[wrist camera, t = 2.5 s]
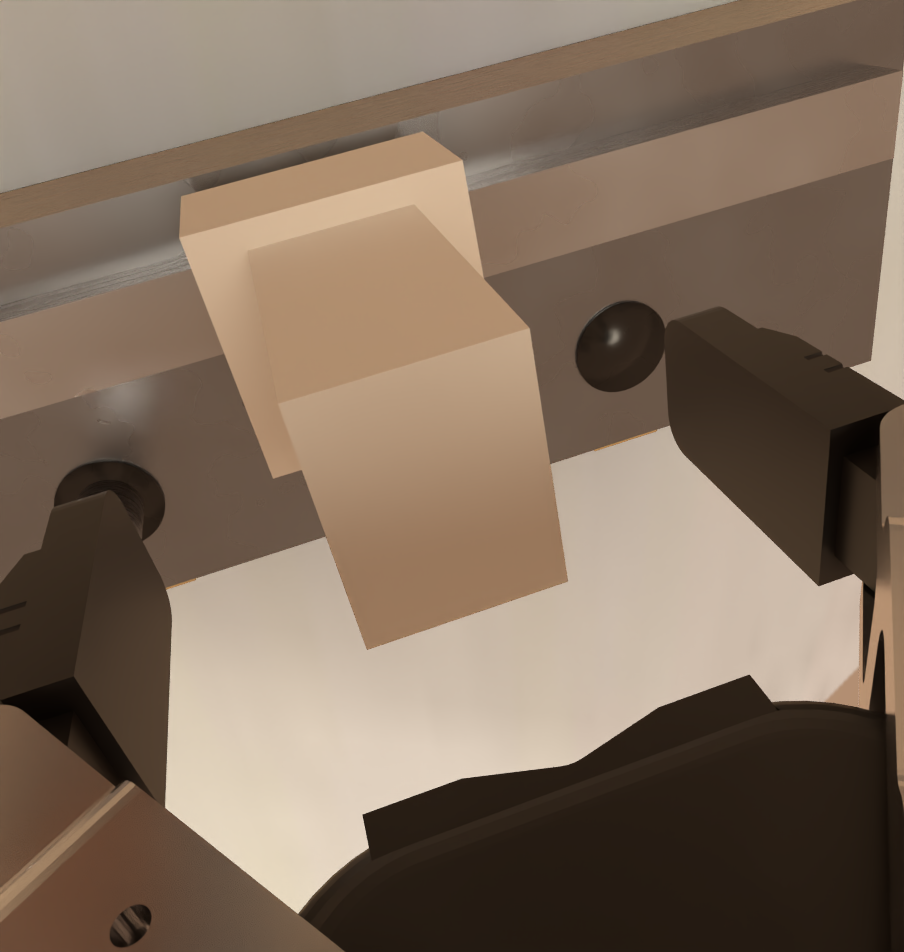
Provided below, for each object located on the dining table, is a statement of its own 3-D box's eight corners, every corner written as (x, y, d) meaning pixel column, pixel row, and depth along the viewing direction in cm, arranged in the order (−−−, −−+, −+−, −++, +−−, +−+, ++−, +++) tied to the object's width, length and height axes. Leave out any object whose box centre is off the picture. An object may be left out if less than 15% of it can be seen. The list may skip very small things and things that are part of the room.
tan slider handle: (181, 185, 17) (172, 391, 9) (411, 123, 18) (606, 262, 9) (301, 507, 22) (369, 835, 14) (479, 450, 22) (648, 733, 14)
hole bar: (-253, 259, 19) (-635, 514, 10) (807, -18, 23) (1216, -7, 14) (-29, 575, 25) (-152, 916, 16) (791, 320, 28) (1072, 485, 19)
